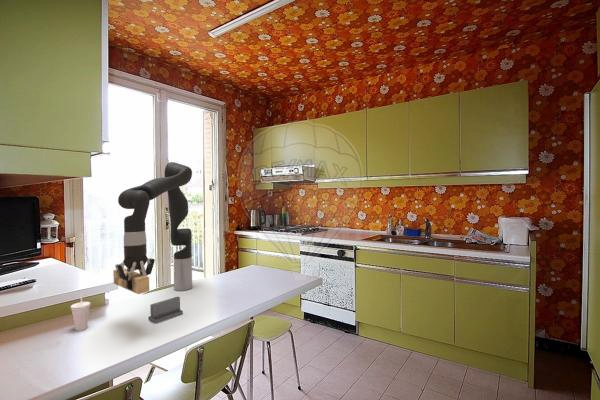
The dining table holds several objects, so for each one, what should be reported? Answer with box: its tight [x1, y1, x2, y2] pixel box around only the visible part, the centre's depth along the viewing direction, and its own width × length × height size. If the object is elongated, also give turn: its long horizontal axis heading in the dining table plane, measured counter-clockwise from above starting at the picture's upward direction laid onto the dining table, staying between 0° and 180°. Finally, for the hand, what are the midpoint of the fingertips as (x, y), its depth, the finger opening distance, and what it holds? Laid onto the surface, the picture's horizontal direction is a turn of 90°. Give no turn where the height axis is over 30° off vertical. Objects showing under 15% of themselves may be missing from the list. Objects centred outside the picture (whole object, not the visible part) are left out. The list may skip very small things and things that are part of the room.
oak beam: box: [112, 267, 150, 295], centre depth 119 cm, size 22×4×6 cm, turn 52°
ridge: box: [147, 296, 184, 325], centre depth 130 cm, size 6×12×7 cm, turn 142°
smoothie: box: [70, 293, 91, 332], centre depth 120 cm, size 6×6×14 cm
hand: (136, 287), depth 116 cm, fingers closed on oak beam, 4 cm apart
